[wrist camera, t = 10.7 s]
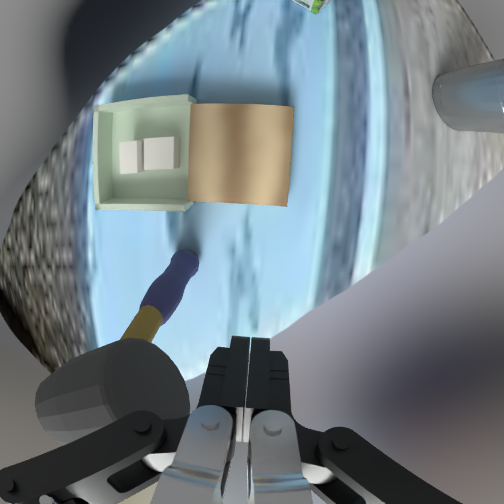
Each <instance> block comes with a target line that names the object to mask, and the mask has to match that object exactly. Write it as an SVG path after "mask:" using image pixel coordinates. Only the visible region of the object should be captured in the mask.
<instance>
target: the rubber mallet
mask: <svg viewBox="0 0 504 504" xmlns="http://www.w3.org/2000/svg"><path fill="white" fill-rule="evenodd" d="M198 267H199V260H198V258H197V257H196V255H195V253H193V252H192V251H190V250H179V251H178V252H176V253H175V254H174V255H173V257H172V258H171V262H170V265H169V266H168V267H167V269H166V270H165V271H164V272H163V274H162V275H160V276H159V277H158V278H157V279H156V280H155V281H154V282H153V283H152V284H151V286H150V287H149V289H148V291H147V293H146V294H145V296H144V298H143V300H142V302H141V304H140V309H139V312H138V313H137V314H136V316H135V317H134V319H133V320H132V322H131V324H130V325H129V327H128V328H127V330H126V331H125V333H124V334H123V336H122V337H121V339H120V340H118V341H115V342H113V343H110V344H108V345H105V346H102V347H100V348H97V349H94V350H92V351H89V352H87V353H85V354H82V355H80V356H78V357H75V358H73V359H71V360H70V361H68V362H67V363H65V364H64V365H62V366H61V367H60V368H58V369H57V370H56V371H54V372H53V373H52V374H51V375H50V376H49V377H47V378H46V379H45V380H44V381H43V382H42V383H41V384H40V386H39V388H38V390H37V392H36V398H35V408H36V412H37V416H38V419H39V421H40V423H41V425H42V427H43V429H44V430H45V432H47V434H48V435H49V436H50V437H51V438H52V439H53V440H54V441H56V442H57V443H59V444H61V445H62V446H63V445H66V444H68V443H70V442H73V441H75V440H77V439H79V438H81V437H84V436H86V435H88V434H90V433H92V432H94V431H96V430H98V429H100V428H103V427H105V426H107V425H109V424H111V423H113V422H115V421H117V420H119V419H120V418H122V417H124V416H126V415H128V414H130V413H132V412H135V411H140V410H145V411H150V412H153V413H155V414H156V415H158V416H159V417H160V418H161V420H166V419H178V418H182V417H185V416H188V415H189V414H190V402H189V394H188V390H187V387H186V384H185V381H184V379H183V377H182V375H181V373H180V371H179V369H178V368H177V366H176V365H175V364H174V362H173V361H172V360H171V359H170V357H169V356H168V355H167V354H166V353H165V352H163V351H162V350H161V349H160V348H159V347H157V346H156V345H155V344H152V343H151V342H152V340H153V338H154V336H155V334H156V333H157V331H158V329H159V327H160V326H162V325H163V324H165V323H166V322H167V320H168V319H169V318H170V317H171V315H172V314H173V313H174V311H175V310H176V308H177V306H178V305H179V303H180V301H181V299H182V296H183V293H184V289H185V287H186V285H187V283H188V281H189V280H190V278H191V277H192V276H194V275H195V274H196V272H197V271H198Z"/></svg>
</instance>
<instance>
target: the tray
mask: <svg viewBox="0 0 504 504" xmlns="http://www.w3.org/2000/svg"><path fill="white" fill-rule="evenodd" d="M191 104H197V99H195V98H193V97H192V96H190V95H189V94H183V95H169V96H158V97H149V98H140V99H133V100H126V101H120V102H113V103H108V104H102V105H97V106H94V121H93V180H94V198H95V210H148V211H179V212H185V211H186V210H188V209H189V208H190V207H191V206H192V205H194V201H188V159H189V129H190V110H191ZM159 137H180V167H179V168H175V169H155V170H147V171H143V172H139V173H129V174H120V154H119V142H127V141H137V140H144V139H146V138H159Z"/></svg>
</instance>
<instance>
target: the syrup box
mask: <svg viewBox="0 0 504 504" xmlns="http://www.w3.org/2000/svg"><path fill="white" fill-rule="evenodd" d="M292 1H294V2H296V3H297V4H299V5H301V6H303V7H304V8H306V9H308V10H309V11H311V12H313V13H314V14H318V13H319V12H320V11H321V10H322V9H323V8H324V7H325V6H326V5H327V4H328V3H329V2H330V1H331V0H292Z"/></svg>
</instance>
